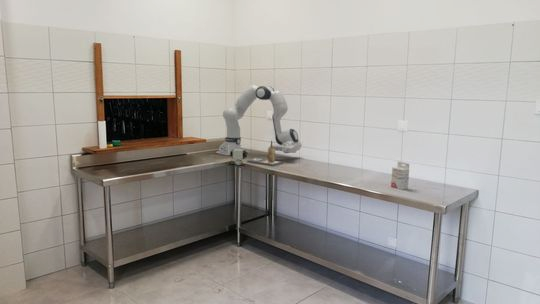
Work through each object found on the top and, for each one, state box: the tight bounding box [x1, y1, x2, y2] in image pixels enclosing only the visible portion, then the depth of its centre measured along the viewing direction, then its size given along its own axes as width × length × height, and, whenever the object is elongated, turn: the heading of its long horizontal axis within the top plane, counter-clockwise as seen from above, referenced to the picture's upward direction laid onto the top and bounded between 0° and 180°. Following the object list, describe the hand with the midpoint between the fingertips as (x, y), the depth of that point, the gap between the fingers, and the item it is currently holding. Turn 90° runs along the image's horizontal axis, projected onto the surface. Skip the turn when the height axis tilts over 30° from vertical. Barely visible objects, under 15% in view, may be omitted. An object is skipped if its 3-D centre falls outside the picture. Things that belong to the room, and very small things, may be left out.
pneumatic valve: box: [229, 148, 248, 166], centre depth 297 cm, size 6×12×12 cm, turn 74°
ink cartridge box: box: [390, 161, 410, 191], centre depth 236 cm, size 9×5×15 cm, turn 35°
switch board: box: [246, 157, 284, 167], centre depth 306 cm, size 24×13×2 cm, turn 53°
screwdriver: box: [267, 140, 276, 163], centre depth 301 cm, size 5×5×16 cm
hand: (276, 149), depth 305 cm, fingers open, 8 cm apart
